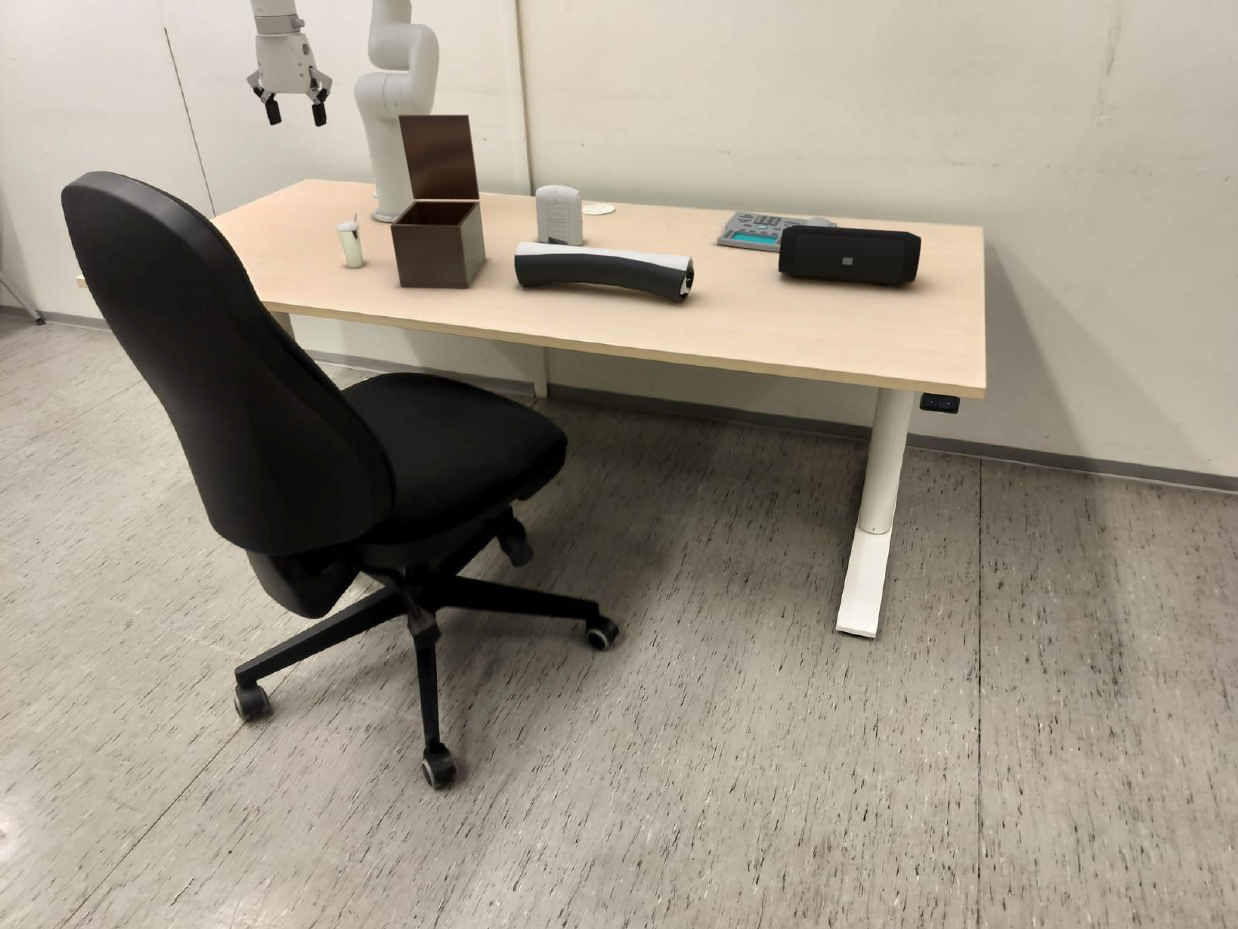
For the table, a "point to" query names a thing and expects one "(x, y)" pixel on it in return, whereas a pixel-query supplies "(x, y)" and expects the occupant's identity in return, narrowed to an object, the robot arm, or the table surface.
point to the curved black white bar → (604, 268)
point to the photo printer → (559, 214)
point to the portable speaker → (849, 255)
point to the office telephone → (762, 230)
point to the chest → (439, 244)
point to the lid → (440, 156)
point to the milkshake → (351, 242)
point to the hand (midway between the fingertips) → (298, 124)
